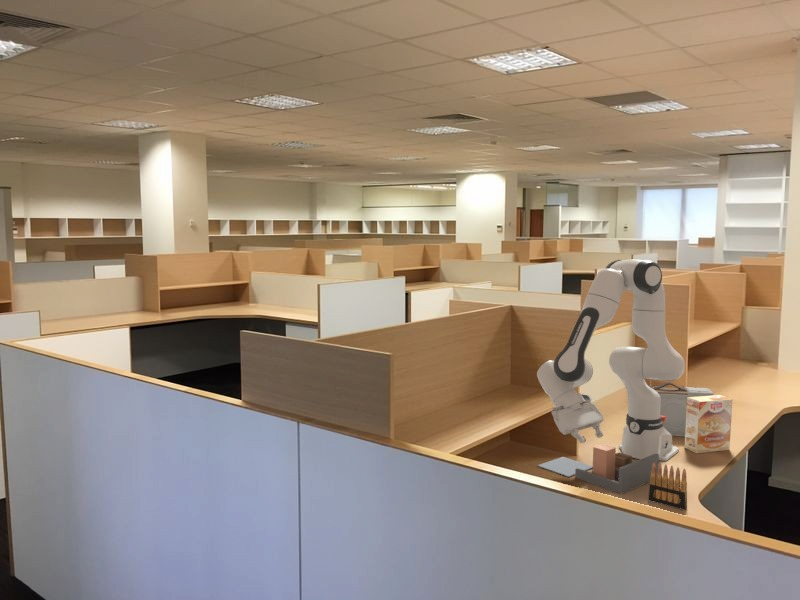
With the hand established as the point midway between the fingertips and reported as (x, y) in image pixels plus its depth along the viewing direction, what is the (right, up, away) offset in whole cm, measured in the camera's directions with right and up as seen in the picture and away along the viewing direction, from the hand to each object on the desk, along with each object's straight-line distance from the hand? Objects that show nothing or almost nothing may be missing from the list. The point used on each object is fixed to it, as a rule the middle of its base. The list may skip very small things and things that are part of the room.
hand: (592, 439), depth 217 cm
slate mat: (-6, -12, +10) cm, 16 cm away
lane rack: (+8, -13, 0) cm, 15 cm away
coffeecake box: (+51, -10, +29) cm, 60 cm away
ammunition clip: (+16, -15, -21) cm, 30 cm away
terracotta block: (+3, -13, -2) cm, 13 cm away
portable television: (+49, -8, +50) cm, 70 cm away
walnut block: (+11, -12, +4) cm, 17 cm away
